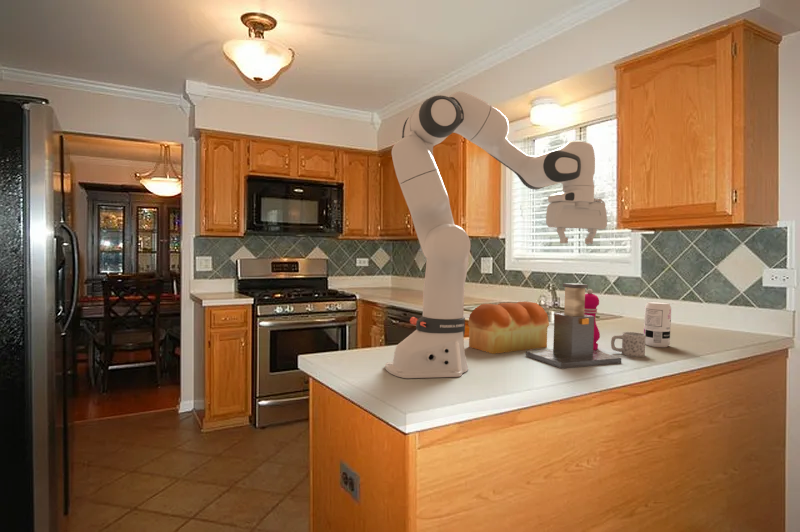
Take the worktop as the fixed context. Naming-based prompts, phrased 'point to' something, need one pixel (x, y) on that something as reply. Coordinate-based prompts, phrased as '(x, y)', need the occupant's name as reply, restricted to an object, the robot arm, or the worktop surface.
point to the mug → (631, 344)
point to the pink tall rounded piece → (592, 313)
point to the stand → (573, 344)
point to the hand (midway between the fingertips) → (576, 243)
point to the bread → (508, 327)
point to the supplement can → (657, 324)
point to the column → (574, 299)
